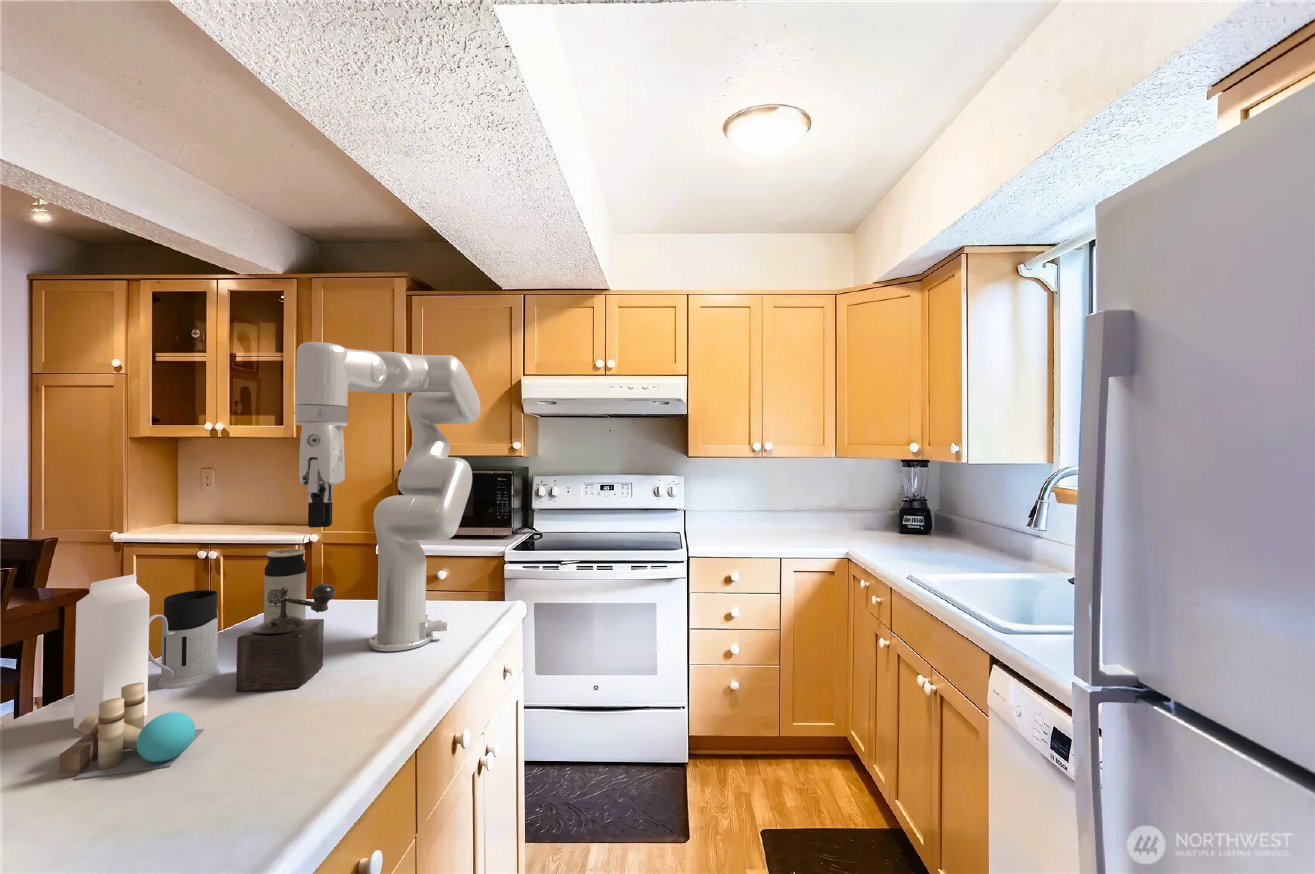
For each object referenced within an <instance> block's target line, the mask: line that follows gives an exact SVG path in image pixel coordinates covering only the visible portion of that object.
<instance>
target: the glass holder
mask: <svg viewBox="0 0 1315 874" xmlns="http://www.w3.org/2000/svg"><path fill="white" fill-rule="evenodd" d="M156 618H159V619H160V620H161V622H162V627H161V662H159V661H158V660H156V659H155V657H154V656H153V655H152V653H151V651H150V647H149V648H148V662H151V663H152V664H153V665H155V666H156V667H159V668H160V669H161V671H160V673H161V675H160V678H159V680H158V682H157V686H158V687H159V688H161V689H171V690H172V689H181V688H189V687H193V686H197V685H200V684H204V683H207V682H210V681H211V680H213V679H215V678H217V677H218V676H219V675H220V674H221V671H220V668H219V666H218V644H219V643H218V638H219V636H218V633H219V632H218V629H219V612H218V591H216V590H212V589H203V590H191V591H185V592H178V593H174V594H170V595H168V596H165V597H164V598H163V614H154V615H151V616H149V625H150V624H151V622H152V621H153V620H155V619H156Z"/></svg>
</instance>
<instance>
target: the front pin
mask: <svg viewBox="0 0 1315 874" xmlns="http://www.w3.org/2000/svg"><path fill="white" fill-rule="evenodd" d="M98 716H99V714H98V713H95V712H91V713H90V714H89V715H88V716H87V717H86V718H85V719H84V720H83V721H82V722H81V724H80V725H79V726H78V728H77V729H76V731H78V732H81V733H83V734H85V735H86V734H89V735H90V736H93V737H96V738H98V735H99V724H98ZM141 730H142V729H139V728H137V727H134V726H131V725H128V724H126V723H124V735H123V747H126V748H129V749H131V750H134V751H137V752H138V750H137V739H138V736H139V734H140V732H141Z"/></svg>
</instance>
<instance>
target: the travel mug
mask: <svg viewBox="0 0 1315 874" xmlns="http://www.w3.org/2000/svg"><path fill="white" fill-rule="evenodd" d="M306 552H307V551H306V550H305V549H303V548H283V549H275V550H271V551H268V552H266V556H267V560H268V562H267V563H266V565H265V567H264V585H263V587H264V588H263V591H264V592H263V599H264V601H263V623H264V622H266V621H268V620H271V619H273V618H276V617H279V615H280V611H281V600H280V599H279V596H280V595H281V593H280V590H281V588H283V587H286V588H287V589H288V593H287V594H288V597H290V598H294V599H299V600H306V601H307V562H306V561H305V559H304V557H305V553H306ZM306 608H307V606H306V605H299V604H293V603H290V602H288V601H287V603H286V613H287V615H288V616H295V617H299V618H301V619H307V618H306V617H307V616H306V613H307V609H306Z"/></svg>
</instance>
